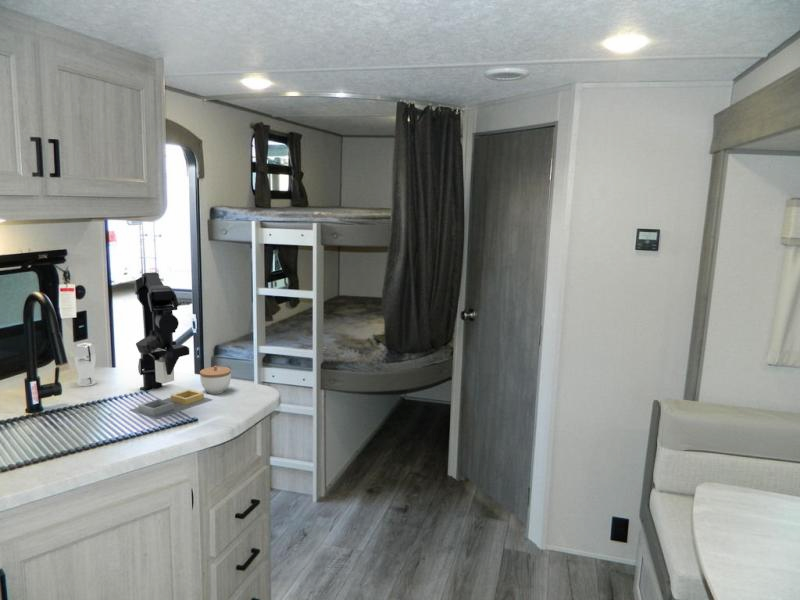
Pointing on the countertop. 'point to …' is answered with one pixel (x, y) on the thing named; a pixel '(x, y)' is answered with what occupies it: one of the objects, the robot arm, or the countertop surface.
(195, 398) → the multicoloured flat piece
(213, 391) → the lidded jar
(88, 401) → the countertop surface
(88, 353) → the beer glass
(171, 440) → the countertop surface
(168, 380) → the plug
